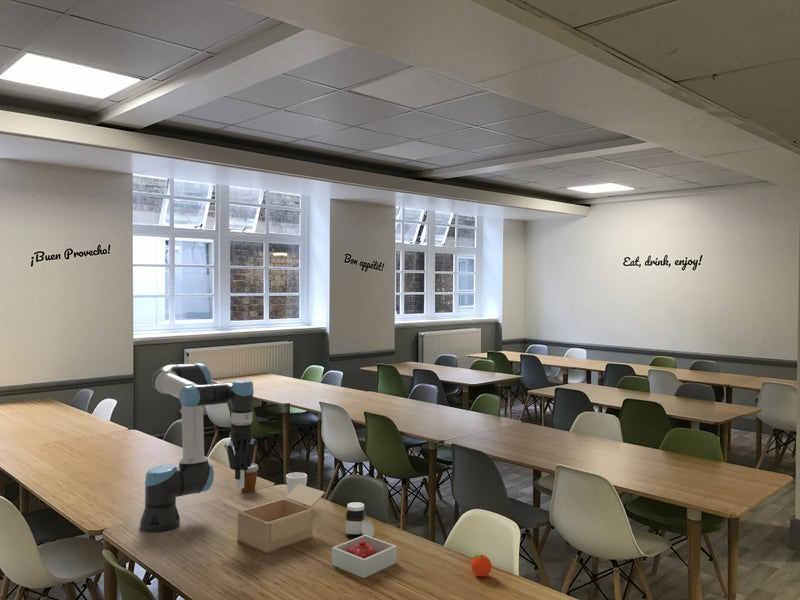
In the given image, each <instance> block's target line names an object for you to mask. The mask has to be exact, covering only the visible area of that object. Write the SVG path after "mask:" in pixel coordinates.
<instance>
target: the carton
mask: <svg viewBox="0 0 800 600" xmlns="http://www.w3.org/2000/svg"><path fill="white" fill-rule="evenodd" d="M241 511H242V512H244V513H247V514H250V515H252V516H255V517H257V518H260V519H262V520H265V522H263V521H260V520H258V519H255V518H253V517H250V516H248V515H245V514H243V513H240V512H238V511H237V537H236V538H237V541H238V542H240V543H241V544H244V545H247V546H248V547H251V548H254V549H255V550H257V551H260V552H262V553H265V554H269V553H273V552H276V551H278V550H281V549H283V548H286V547H289V546H291V545H295V544H297V543H299V542H303V541H305V540H308V539H311V538H313V527H314V525H313V523H314V519H313V518H314V508H313V507H310V506H307V505H304V504H303V505H300V504H298V503H295V502H292V501H289V499H287V498H281V499H278V500H274V501H272V502H271V501H270V502H267V503H263V504H260V505H256V506H253V507H250V508H247V509H243V510H241Z"/></svg>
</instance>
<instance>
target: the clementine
mask: <svg viewBox="0 0 800 600" xmlns="http://www.w3.org/2000/svg"><path fill="white" fill-rule="evenodd" d="M472 557H473V558H472ZM470 558H472V559H471V563H470V567H471V571H472V572H473V574H475V575H476V576H477V577H482V578H483V577H486V576H487V575H489V574H490V573H491V571H492V562H491V560H490V558H489V557H488V556H487V555H485V554H478V553H477V554H473V555H471V556H470Z"/></svg>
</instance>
